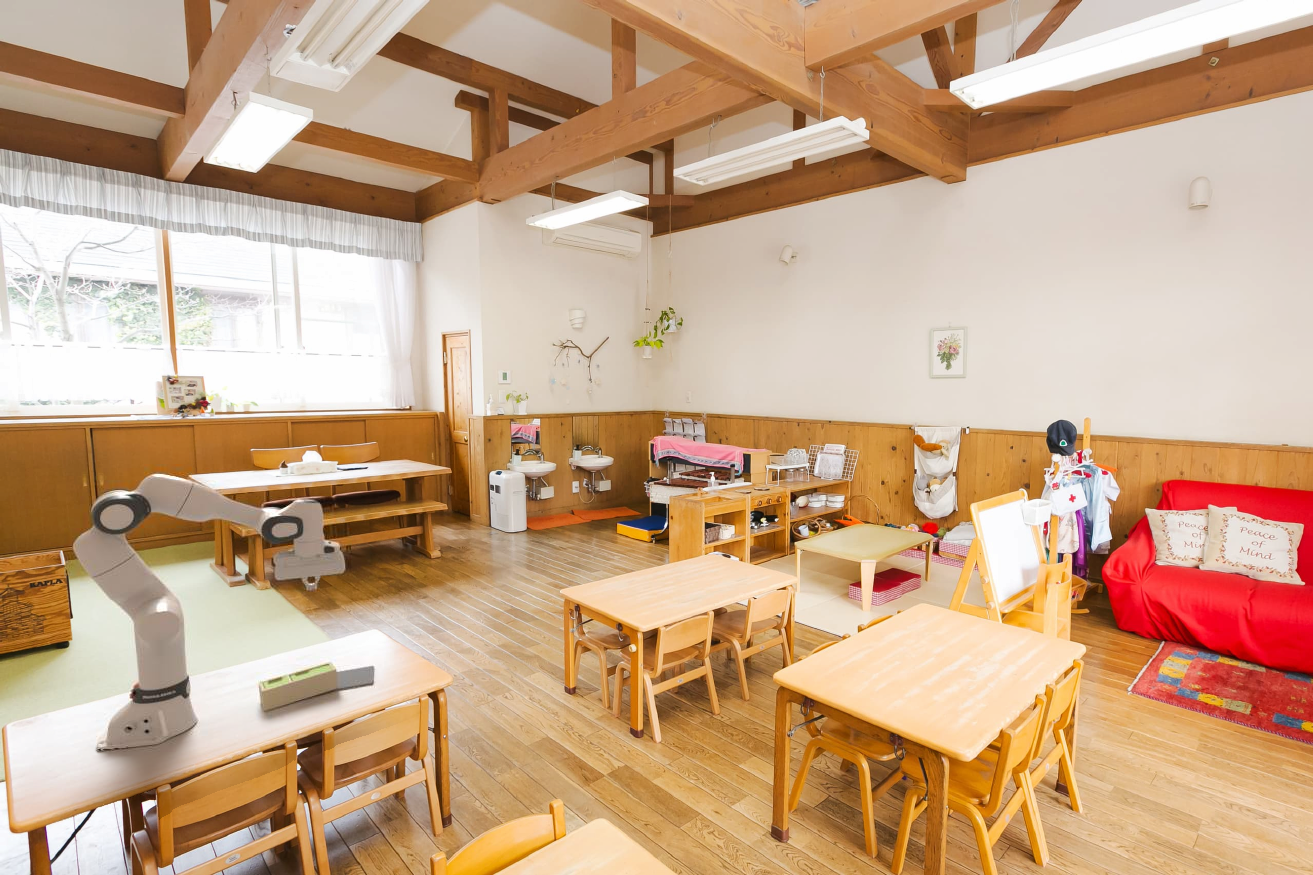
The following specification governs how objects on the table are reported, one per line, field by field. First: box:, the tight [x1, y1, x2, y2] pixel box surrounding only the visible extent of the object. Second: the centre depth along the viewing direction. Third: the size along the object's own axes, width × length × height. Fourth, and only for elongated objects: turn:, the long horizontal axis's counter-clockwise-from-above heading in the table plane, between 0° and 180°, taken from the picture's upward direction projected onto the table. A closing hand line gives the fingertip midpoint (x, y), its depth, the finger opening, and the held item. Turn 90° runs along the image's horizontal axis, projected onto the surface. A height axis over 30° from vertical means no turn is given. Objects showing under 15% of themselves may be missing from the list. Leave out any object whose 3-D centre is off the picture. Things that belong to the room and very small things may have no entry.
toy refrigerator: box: [258, 661, 338, 712], centre depth 203 cm, size 8×7×21 cm
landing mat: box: [323, 665, 375, 694], centre depth 215 cm, size 17×14×1 cm
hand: (311, 589), depth 208 cm, fingers closed
